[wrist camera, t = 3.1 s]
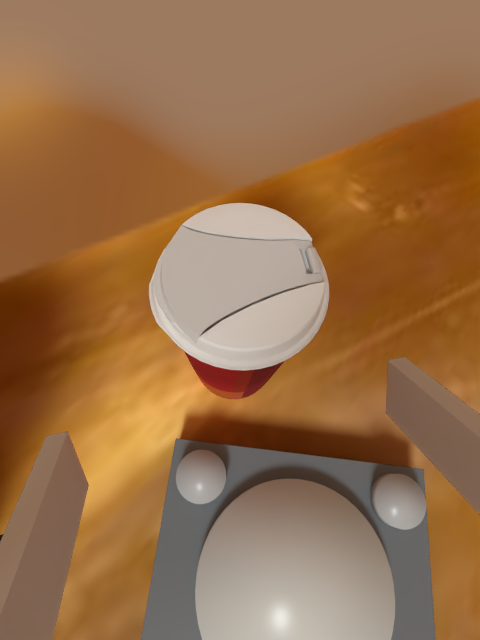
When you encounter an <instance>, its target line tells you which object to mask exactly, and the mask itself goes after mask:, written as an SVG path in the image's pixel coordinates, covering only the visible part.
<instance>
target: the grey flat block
mask: <svg viewBox="0 0 480 640" xmlns="http://www.w3.org/2000/svg"><path fill="white" fill-rule="evenodd" d="M141 640H435V626H434V612H433V597H432V583H431V569H430V555H429V540H428V526H427V512H426V497H425V483H424V469H419V468H411V467H403V466H394V465H386V464H378V463H370V462H362V461H354V460H346V459H338V458H330V457H322V456H314V455H305V454H297V453H289V452H281V451H273V450H265V449H257V448H249V447H241V446H233V445H225V444H216V443H208V442H200V441H192V440H184V439H176V441H175V446H174V452H173V458H172V464H171V470H170V475H169V481H168V487H167V493H166V499H165V504H164V510H163V516H162V522H161V528H160V533H159V539H158V545H157V551H156V556H155V562H154V568H153V574H152V580H151V585H150V591H149V597H148V603H147V609H146V614H145V620H144V626H143V632H142V638H141Z"/></svg>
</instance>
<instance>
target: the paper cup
mask: <svg viewBox="0 0 480 640" xmlns="http://www.w3.org/2000/svg"><path fill="white" fill-rule="evenodd" d="M149 299H150V304H151V309H152V312H153V315H154V317H155V320H156V322H157V324H158V325H159V326H160V327H161V328H162V329H163V330H164V331H165V332H166V333H167V334H168V335H169V337H170V338H171V339H172V340H173V341H174V342H175V343H176V344H177V345H178V346H179V347H180V348H181V349H183V350H184V352H185V354H186V355H187V357H188V359H189V361H190V363H191V365H192V366H193V368H194V370H195V372H196V373H197V375H198V377H199V378H200V380H201V381H202V383H203V384H204V385H205V386H206V387H207V388H208V389H209V390H210V391H211V392H212V393H214V394H216V395H218V396H220V397H223V398H227V399H240V398H245V397H247V396H250V395H252V394H254V393H255V392H256V391H258V390H259V389H260V388H261V387H262V386H263V385H264V384H265V383H266V382H267V381H268V380H269V379H270V378H271V376H272V375H273V374H274V373H275V372H276V370H277V369H278V368H279V367H280V366H281V365H282V363H283V362H284V361H285V360H287V359H289V358H291V357H292V356H294V355H295V354H297V353H298V352H300V351H301V350H302V349H303V348H304V347H305V346H306V345H307V344H308V343H309V342H310V341H311V340H312V339H313V337H314V336H315V335H316V333H317V332H318V330H319V328H320V326H321V325H322V323H323V321H324V318H325V315H326V312H327V308H328V302H329V282H328V278H327V274H326V270H325V268H324V265H323V263H322V260H321V258H320V257H319V255H318V253H317V251H316V248H314V247H313V245H312V238H311V236H310V235H309V234H308V233H307V232H306V230H305V229H304V228H303V227H301V226H300V225H299V224H298V223H297V222H296V221H294V220H293V219H291V218H290V217H288V216H287V215H285V214H283V213H281V212H279V211H277V210H275V209H272V208H269V207H266V206H262V205H256V204H250V203H230V204H224V205H219V206H215V207H212V208H209V209H206V210H204V211H202V212H200V213H198V214H196V215H194V216H193V217H191V218H190V219H188V220H187V221H185V222H184V223H183V224H182V225H181V226H180V228H179V230H178V231H177V232H176V234H175V235H174V236H173V238H172V240H171V241H170V243H169V244H168V245H167V247H166V248H165V249H164V251H163V253H162V254H161V256H160V258H159V260H158V263H157V265H156V268H155V271H154V274H153V276H152V279H151V281H150V284H149Z"/></svg>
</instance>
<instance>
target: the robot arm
mask: <svg viewBox="0 0 480 640" xmlns="http://www.w3.org/2000/svg"><path fill="white" fill-rule="evenodd" d="M386 414H387V415H388V416H389V417H390V418H391V419H392V420H393V421H394V422H395V423H396V425H397V426H398V427H399V428H400V429H401V430H402V431H403V432H404V433H405V434H406V435H407V436H408V438H409V439H410V440H411V441H412V442H413V443H414V444H415V445H416V446H417V447H418V448H419V449H420V451H421V452H422V453H423V454H424V455H425V456H426V457H427V458H428V459H429V460H430V461H431V462H432V464H433V465H434V466H435V467H436V468H437V469H438V470H439V471H440V472H441V473H442V474H443V475H444V477H445V478H446V479H447V480H448V481H449V482H450V483H451V484H452V485H453V486H454V487H455V488H456V490H457V491H458V492H459V493H460V494H461V495H462V496H463V497H464V498H465V499H466V500H467V501H468V503H469V504H470V505H471V506H472V507H473V508H474V509H475V510H476V511H477V512H478V513H479V514H480V414H479V413H477V412H476V411H475V410H473V409H472V408H471V407H469V406H468V405H467V404H466V403H464V402H463V401H462V400H460V399H459V398H458V397H456V396H455V395H454V394H453V393H451V392H450V391H449V390H447V389H446V388H445V387H443V386H442V385H441V384H439V383H438V382H437V381H436V380H434V379H433V378H432V377H430V376H429V375H428V374H426V373H425V372H424V371H423V370H421V369H420V368H419V367H417V366H416V365H415V364H413V363H412V362H411V361H409V360H408V359H407V358H406V357H401V358H396V359H392V360H388V370H387V398H386ZM88 486H89V485H88V482H87V480H86V477H85V474H84V472H83V469H82V467H81V464H80V462H79V459H78V457H77V454H76V452H75V449H74V447H73V444H72V441H71V439H70V436H69V434H68V431H67V432H63V433H58V434H54V435H49V436H46V438H45V441H44V443H43V445H42V447H41V450H40V452H39V454H38V457H37V459H36V461H35V463H34V466H33V468H32V470H31V473H30V475H29V477H28V479H27V482H26V484H25V486H24V489H23V491H22V493H21V495H20V498H19V500H18V502H17V505H16V507H15V509H14V511H13V514H12V516H11V518H10V521H9V523H8V525H7V527H6V530H5V532H4V534H3V535H0V640H52V638H53V634H54V630H55V626H56V621H57V617H58V613H59V609H60V604H61V600H62V596H63V592H64V587H65V583H66V579H67V575H68V570H69V566H70V562H71V558H72V553H73V549H74V545H75V541H76V536H77V532H78V528H79V524H80V519H81V515H82V511H83V507H84V502H85V498H86V494H87V490H88Z"/></svg>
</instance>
